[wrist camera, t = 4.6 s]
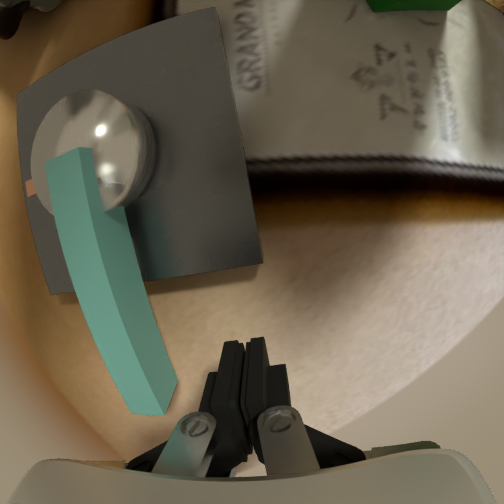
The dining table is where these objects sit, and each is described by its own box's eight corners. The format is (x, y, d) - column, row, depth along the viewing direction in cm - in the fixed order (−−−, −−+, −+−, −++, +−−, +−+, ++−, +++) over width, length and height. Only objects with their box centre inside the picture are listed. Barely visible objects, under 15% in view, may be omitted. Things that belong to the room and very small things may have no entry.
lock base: (218, 19, 12) (214, 5, 11) (263, 254, 16) (263, 264, 14) (30, 97, 13) (15, 94, 12) (62, 286, 17) (49, 296, 15)
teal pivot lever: (147, 85, 12) (113, 62, 8) (212, 371, 16) (201, 415, 12) (56, 123, 12) (13, 118, 9) (125, 374, 16) (103, 410, 13)
